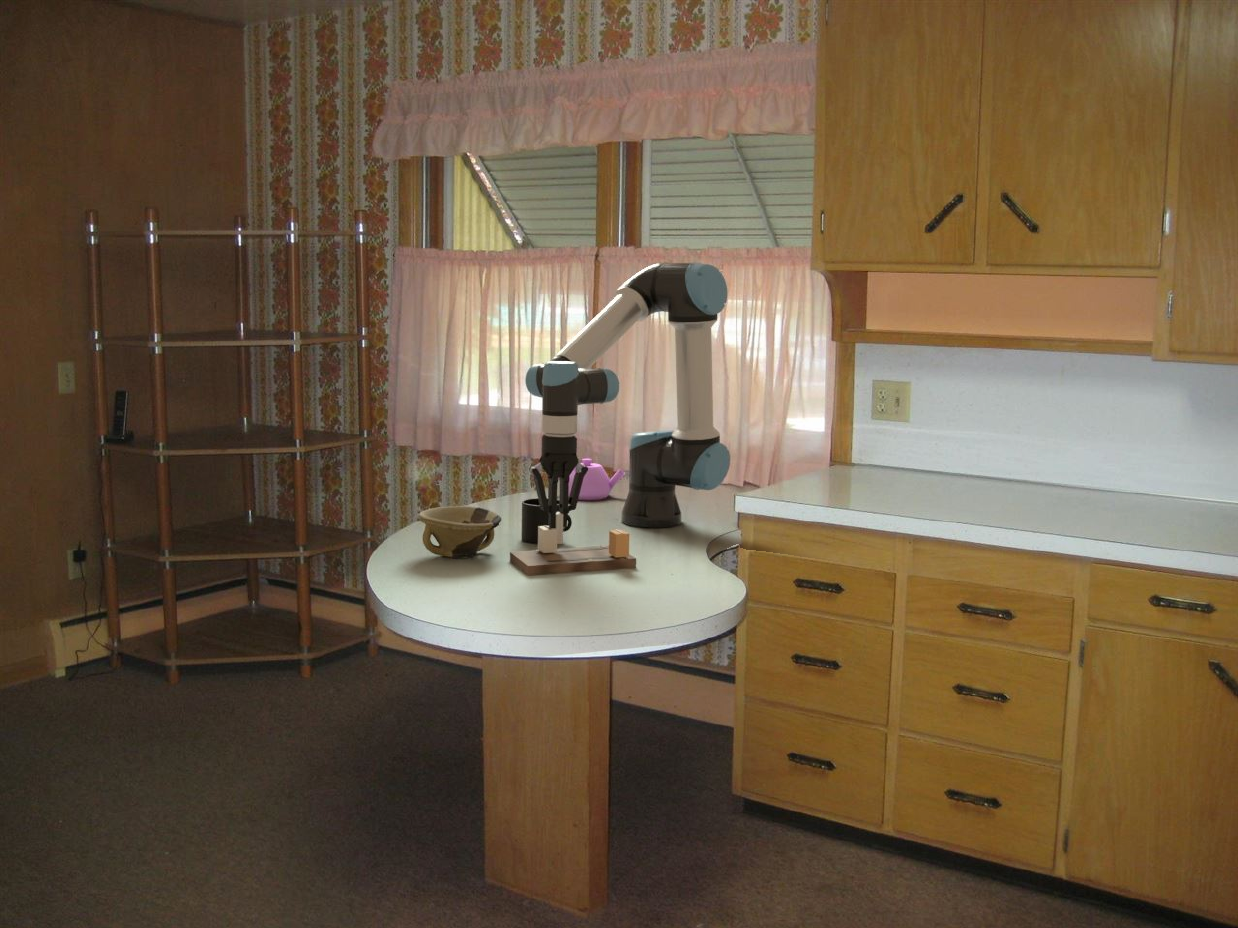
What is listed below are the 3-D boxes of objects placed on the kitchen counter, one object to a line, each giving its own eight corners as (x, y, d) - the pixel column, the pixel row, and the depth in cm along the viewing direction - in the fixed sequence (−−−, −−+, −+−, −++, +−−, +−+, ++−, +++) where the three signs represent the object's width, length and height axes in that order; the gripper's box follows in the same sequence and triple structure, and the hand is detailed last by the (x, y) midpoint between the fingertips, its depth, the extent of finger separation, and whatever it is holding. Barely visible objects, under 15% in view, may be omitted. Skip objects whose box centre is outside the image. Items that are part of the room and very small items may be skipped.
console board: (613, 553, 269) (613, 544, 268) (635, 567, 257) (636, 557, 256) (509, 560, 260) (510, 551, 259) (528, 575, 248) (528, 565, 248)
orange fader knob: (621, 552, 260) (622, 528, 259) (628, 556, 256) (629, 532, 255) (608, 553, 259) (609, 529, 258) (615, 557, 255) (616, 533, 254)
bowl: (434, 568, 252) (434, 523, 250) (408, 550, 268) (408, 507, 266) (512, 561, 260) (513, 517, 258) (482, 543, 276) (483, 502, 274)
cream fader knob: (550, 548, 262) (551, 524, 262) (556, 552, 259) (557, 528, 258) (537, 548, 261) (538, 525, 260) (543, 552, 258) (543, 529, 257)
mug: (564, 547, 274) (564, 508, 273) (515, 542, 278) (515, 503, 276) (577, 538, 283) (578, 500, 282) (530, 534, 287) (530, 496, 285)
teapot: (621, 502, 329) (622, 464, 327) (549, 499, 332) (550, 461, 330) (627, 494, 343) (628, 457, 341) (558, 490, 345) (558, 453, 343)
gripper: (582, 431, 263) (579, 537, 266) (524, 432, 258) (523, 540, 261) (594, 435, 256) (591, 544, 259) (535, 437, 251) (534, 548, 255)
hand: (557, 542), depth 260 cm, fingers closed
